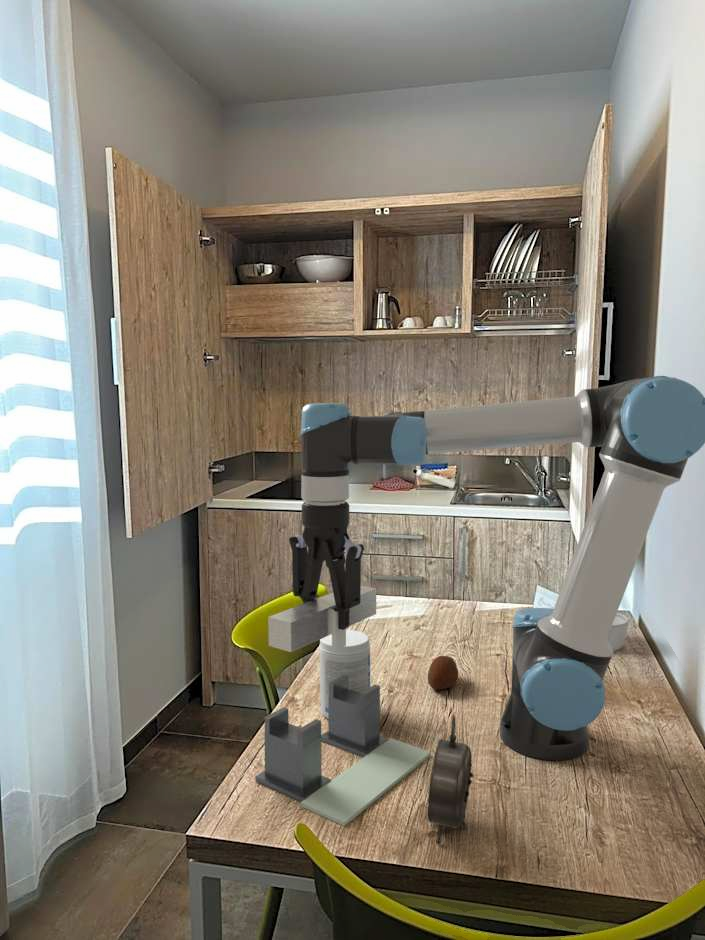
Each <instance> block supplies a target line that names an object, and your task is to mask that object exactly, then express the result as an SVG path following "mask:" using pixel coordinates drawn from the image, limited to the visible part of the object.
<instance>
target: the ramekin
mask: <svg viewBox="0 0 705 940" xmlns="http://www.w3.org/2000/svg"><path fill="white" fill-rule="evenodd" d="M628 628H629V618H628V617H627V616H626V615H624V614H622V613H619V612H617V614H616V616H615V619H614V621H613V624H612V627H611V629H610V632H609V634H608V640H609V643H610V645H611V647H612V649H613V652H616V651H619V650H620V649H622V648H623V646H624V644H625V642H626V636H627V630H628Z"/></svg>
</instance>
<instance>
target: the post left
mask: <svg viewBox="0 0 705 940" xmlns="http://www.w3.org/2000/svg"><path fill="white" fill-rule="evenodd" d="M321 735H322V720H320V719H317V718H315V719H313V720H311V721H310V722H309V723H307V724H305V725H304V726H301V727H299V726H297V725H294V724H292V723H289V708H287V707H286V706H285V707H284V706H283V707H281V708H279V709H277V710H276V711H274V712H272V713H270V714H268V715H266V716H264V771H261V772H260V773H258V774H257V775H255V777H254V779H255V780H254V781H255V782H256V783H259V784H261V785H263V786H265V787H267V788H270V789H271V790H274V791H275V792H278V793H281V794H282V795H285V796H287V797H289V798H290V799H294V800H296V801H298V802H300V803H301V802H302V801H303V800H305V799H306V798H308V797H309V796H310V795H312V794H313V793H315V792H316V791H317V790H319V789H320V788H321V787H323V786H324V785H326V784H327V783H328V782H330V781H331V780H332V779H331V778H328V777H326V776H324V775H322V741H321Z"/></svg>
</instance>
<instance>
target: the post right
mask: <svg viewBox="0 0 705 940" xmlns="http://www.w3.org/2000/svg"><path fill="white" fill-rule="evenodd" d="M327 719H328V720H327V721H328V730H327V731H326V732H324V733H323V734H321V742H323V743H326V744H328V745H331V746H333V747H336V748H338V749H341V750H344V751H346V752H349V753H352V754H354V755H356V756H360V757H361V758H363V757H365V756H366V755H368V754H369V753H370V752H372V751H373V750H375V749H376V748H377V747H379V746H380V745H382V744H383V743H384V742H386V741H387V740H389V738H387V737H385V736H382V735H380V734H381V731H380V730H381V728H380V727H381V722H380V721H381V720H380V719H381V685H380V684H379V685H378V684H373V685H372V686H370V688H368V689H366V690H365V691H363V692H361V693H359V692H356V691H352V690H349V676H346V675H343V676H341V677H339V678H337V679H335V680H334V681H332V682H330V683H329V696H328V718H327Z"/></svg>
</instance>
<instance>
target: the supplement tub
mask: <svg viewBox="0 0 705 940" xmlns="http://www.w3.org/2000/svg"><path fill="white" fill-rule="evenodd" d="M318 648H319V653H318V655H319V657H318V658H319V706H320V707H319V708H320V712H321V714H322V716H323V717H324V718H326V719H328V696H329V683H330V682H332V681H334V680H335V679H337V678H339V677H341V676H343V675H346V676H349V690H352V691H356V692H359V693H361V692H363V691H365V690H366V689H368V688H370V687H371V644H370V637H369V635H367V634H366V633H364V632H362V631H358V630H353V629H352V630H350V629H346V646H344V647H342V648H340V649H338V650H336V651H335V650H332V634H331V635H329V636H327V637H324V638H322V639H320V640H319V647H318Z"/></svg>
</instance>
